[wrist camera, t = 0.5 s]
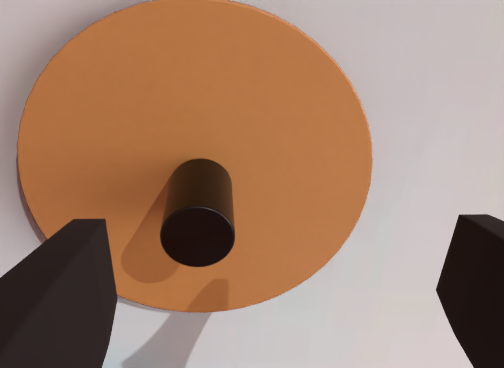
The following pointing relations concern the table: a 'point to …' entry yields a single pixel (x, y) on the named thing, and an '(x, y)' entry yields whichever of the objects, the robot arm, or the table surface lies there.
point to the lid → (198, 151)
